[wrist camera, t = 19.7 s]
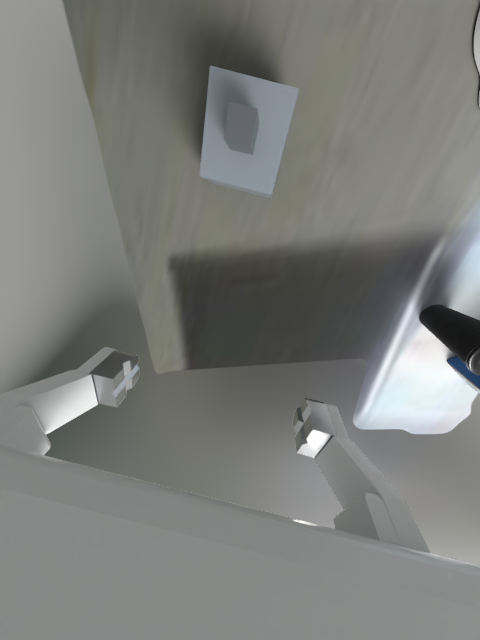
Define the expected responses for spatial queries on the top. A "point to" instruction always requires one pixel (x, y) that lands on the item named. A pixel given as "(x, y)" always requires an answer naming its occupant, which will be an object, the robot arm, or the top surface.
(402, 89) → the top surface
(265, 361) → the top surface
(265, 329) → the top surface
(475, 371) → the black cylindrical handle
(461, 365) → the protein box
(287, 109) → the grey box with knob
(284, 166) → the top surface
